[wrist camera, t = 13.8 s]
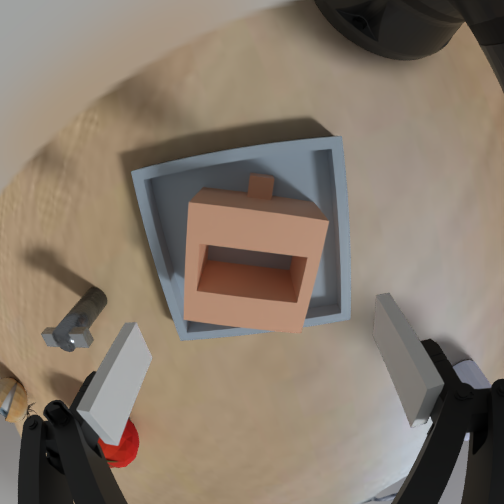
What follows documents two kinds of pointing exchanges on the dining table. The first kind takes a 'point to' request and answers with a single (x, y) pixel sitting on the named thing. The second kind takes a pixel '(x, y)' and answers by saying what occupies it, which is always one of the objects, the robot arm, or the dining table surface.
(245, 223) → the ring frame
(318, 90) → the dining table surface
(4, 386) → the onion
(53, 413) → the robot arm
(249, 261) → the tray
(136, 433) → the tomato
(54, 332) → the grey t-shaped piece
